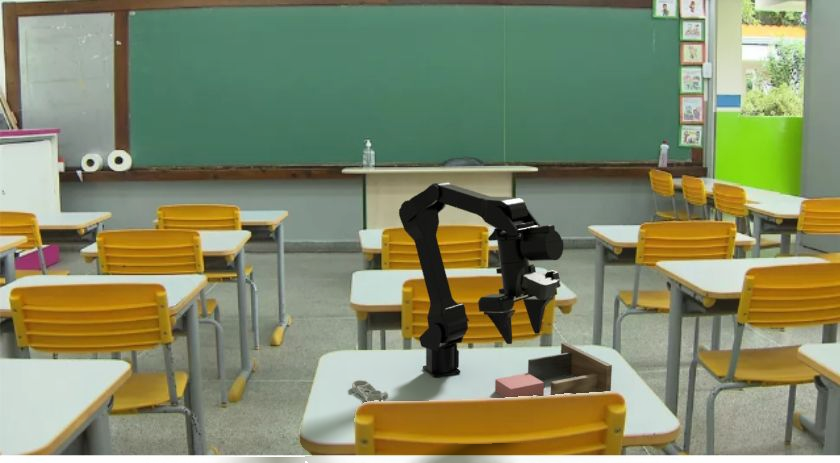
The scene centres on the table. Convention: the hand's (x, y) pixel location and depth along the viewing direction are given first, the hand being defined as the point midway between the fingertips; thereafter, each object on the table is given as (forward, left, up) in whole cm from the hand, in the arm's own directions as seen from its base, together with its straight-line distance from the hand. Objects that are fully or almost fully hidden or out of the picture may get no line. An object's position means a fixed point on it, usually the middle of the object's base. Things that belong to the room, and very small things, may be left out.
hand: (523, 338), depth 152 cm
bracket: (-28, +13, -13) cm, 34 cm away
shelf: (+12, +3, -13) cm, 18 cm away
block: (+1, +3, -13) cm, 13 cm away
